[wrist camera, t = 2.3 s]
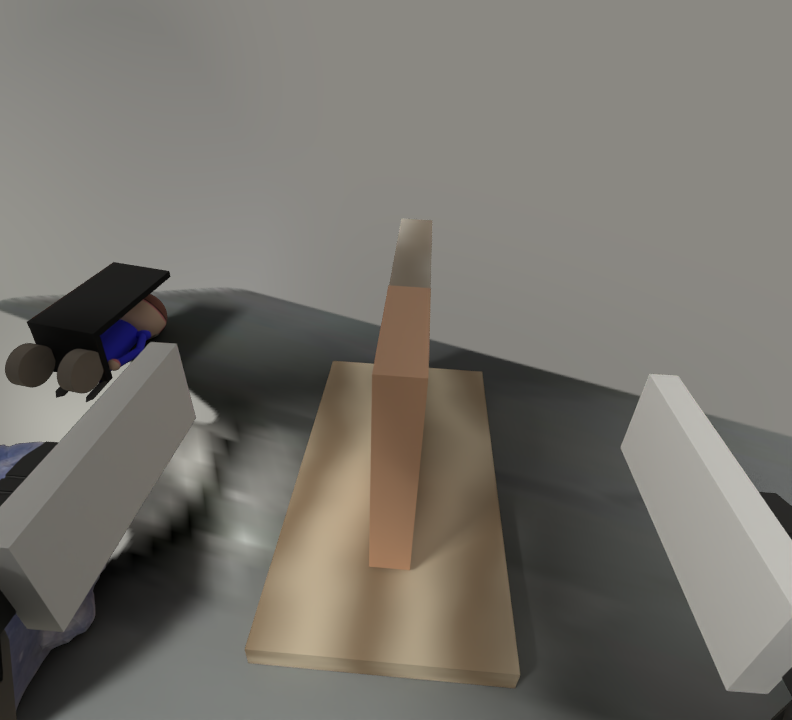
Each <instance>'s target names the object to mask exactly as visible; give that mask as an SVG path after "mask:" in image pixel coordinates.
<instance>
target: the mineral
mask: <svg viewBox="0 0 792 720" xmlns="http://www.w3.org/2000/svg"><path fill="white" fill-rule="evenodd" d="M43 443H44V442H32V443H19V444H15V445H12V446H10V447H9V446H5V445H0V480H1V479H2V478H5V474H6V473H7V472H8V471H9V470H10V469H11V468H12V467H13V466H14V465H15V464H16V463H17V462H18V461H19V460H20V459H21V458H22V457H23V456H25V455H26V454H28V453H29V452H31V451H32V450H34V449H35V448H37V447H39V446H40V445H42V444H43ZM110 557H111V556H110ZM109 559H110V558H109ZM107 562H108V561H107ZM105 568H106V565H105V566H104V568H103V569H102V571H103V570H104V569H105ZM102 571H101V572H102ZM99 578H100V574H99V576H98V577H97V579H96V581H95V582H94V584H93V586H92V587H91V589H90V590H89V592H88V594H87V595H86V597H85V599H84V600H83V602H82V603H81V605H80V607H79V608H78V610H77V611H76V613H75V615H74V616H73V618H72V620H71V621H70V623H69V624H68V626H67V628H66V629H65V631H64V632H57V631H46V630H35V629H27V628H26V626H25V625H24V624H23V622H22V621H21V620H20V618H19V617H18V616H17V614H15V615H14V616H13V618H12V619H11V621H10V622H9V623H8V625H7V626H6V627H5V629H4V630H5V631H6V633H7V636H8V638H9V643H10V653H11V664H12V675H13V686H14V697H15V707H16V710H17V706H18V704H19V702H20V700H21V697H22V695H23V693H24V691H25V690H26V688H27V686H28V684H29V683H30V681H31V680H32V678H33V677H34V675H35V674H36V672H37V670H38V669H39V667H40V665H41V663H42V662H43V660H44V659H45V658H46V656H47V655H48V653H49V652H50V650H51V649H53V648H55V647H57V646H60V645H62V644H65V643H68V642H70V641H71V640H72V639H73V638H74V637H75V636H76V635H78V634H81V633H83V632H85V631H86V630H87V629H88V628H89V627H90V625H91V623H92V622H93V620H94V618H95V600H94V593H93V589H94V586H95V584H96V583H97V581H98V579H99Z"/></svg>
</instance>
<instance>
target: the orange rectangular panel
mask: <svg viewBox="0 0 792 720" xmlns="http://www.w3.org/2000/svg"><path fill="white" fill-rule="evenodd" d="M430 297H431V288H421V287H407V286H392V285H389V286H388V291H387V296H386V302H385V307H384V313H383V318H382V323H381V329H380V334H379V340H378V345H377V350H376V356H375V361H374V367H373V372H372V409H371V471H370V533H369V567H379V568H390V569H402V570H410V563H411V553H412V542H413V532H414V522H415V511H416V501H417V491H418V481H419V470H420V460H421V450H422V439H423V429H424V419H425V408H426V398H427V388H428V375H429V336H430V333H429V332H430Z"/></svg>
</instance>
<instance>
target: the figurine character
mask: <svg viewBox="0 0 792 720" xmlns="http://www.w3.org/2000/svg"><path fill="white" fill-rule="evenodd" d="M169 277H170V273H169V271H165V270H158V269H152V268H146V267H140V266H134V265H127V264H121V263H115V262H113V263H112V264H110V265H109V266H108V267H106V268H105V269H103V270H102V271H100V272H99V273H97V274H96V275H94V276H93V277H91V278H90V279H89V280H87V281H86V282H84V283H83V284H81V285H80V286H78V287H77V288H76V289H74V290H73V291H71V292H70V293H68V294H67V295H65V296H64V297H62V298H61V299H60V300H58V301H57V302H55V303H54V304H52V305H51V306H49V307H48V308H46V309H45V310H44V311H42V312H41V313H39V314H38V315H36V316H35V317H33V318H32V319H31V320H29V321H27V324H28V326H29V328H30V330H31V333H32V335H33V338H34V340H35V343H36V344H32V343H27V344H22V345H20V346H18V347H17V348H16V349H14V350H13V352H12V353H11V354H10V355H9V357H8V359H7V362H6V365H5V373H6V376H7V378H8V380H9V381H10V382H11V383H13V384H16V385H21V386H26V387H37V386H40V385H41V384H43V383H45V382H46V381H47V380H48V379H49V377H50V376H51V374H52V373H53V372H57V380H58V383H59V385H60V387H59V388H58V389H57V390H56V397H60V396H64V395H65V394H66V393H67V392H68V391H72V392H77V393H87V392H89V391H91V390H92V389H93V390H92V391H91V392H90V394H89V395H88V396H87V397H86V402H88V401H90V400H93V399H94V398H95V397H96V395H98V393H99V392H100V391H101V390H102V389H103V388H104V387H105V385H106V384H107V383H108V382H109V381H110V380H111V379H112V374H111V371H112V370H113V371H115V370H118V369H119V368H120V367H121V366H123V365H124V364H126V363H128V362H129V361H131V360H133V359H134V358H136V357H137V356H138V355H139V354H140V353H141V352H142V351H143V350H144V347H145V343H146V340H149V339H152V338H154V337H156V336H157V335H159V334H160V333H161V332H162V331H163V329H164V328H165V326H166V323H167V312H166V309H165V307H164V305H163V303H162V302H161V301H160V300H159V299H158V298H156V297H155V296H153V295H151V294H150V293H151V292H153V291H154V290H155V289H156V288H157V287H159V286H160V285H161V284H162V283H163V282H165V280H167V279H168V278H169ZM136 343H137V345H136V348H135V349H133V350H132V351H130V350H131V349H132V347H133V346H134V345H135V344H136ZM129 351H130V352H129ZM98 383H99V384H98ZM97 384H98V385H97ZM96 385H97V386H96Z"/></svg>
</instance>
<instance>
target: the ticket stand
mask: <svg viewBox="0 0 792 720" xmlns="http://www.w3.org/2000/svg"><path fill="white" fill-rule="evenodd" d="M431 245H432V221H431V220H416V219H401V224H400V229H399V235H398V241H397V246H396V251H395V256H394V262H393V267H392V273H391V279H390V284H389V285H392V286H407V287H421V288H430V284H431V283H430V282H431V247H432V246H431ZM373 367H374V364H369V363H356V362H342V361H333V363H332V366H331V369H330V373H329V376H328V379H327V383H326V386H325V389H324V392H323V396H322V399H321V402H320V405H319V409H318V412H317V415H316V418H315V422H314V425H313V428H312V431H311V435H310V438H309V441H308V444H307V448H306V451H305V454H304V458H303V461H302V464H301V467H300V471H299V474H298V477H297V480H296V484H295V487H294V490H293V493H292V497H291V500H290V503H289V506H288V510H287V513H286V516H285V519H284V523H283V526H282V529H281V533H280V536H279V539H278V542H277V546H276V549H275V552H274V555H273V559H272V562H271V565H270V568H269V572H268V575H267V578H266V581H265V585H264V588H263V591H262V594H261V598H260V601H259V604H258V608H257V611H256V614H255V617H254V621H253V624H252V627H251V630H250V634H249V637H248V640H247V643H246V647H245V652H246V656H247V659H248V663H253V664H263V665H274V666H285V667H295V668H306V669H316V670H327V671H337V672H348V673H359V674H369V675H380V676H390V677H401V678H411V679H422V680H432V681H443V682H454V683H464V684H475V685H485V686H496V687H506V688H515V687H516V685H517V682H518V680H519V677H520V668H519V660H518V653H517V645H516V637H515V629H514V621H513V613H512V605H511V597H510V589H509V581H508V573H507V566H506V558H505V550H504V542H503V534H502V526H501V518H500V510H499V502H498V494H497V486H496V479H495V471H494V463H493V455H492V447H491V439H490V431H489V423H488V415H487V407H486V399H485V392H484V384H483V376H482V372H479V371H465V370H451V369H438V368H429V375H428V388H427V398H426V408H425V419H424V429H423V439H422V450H421V460H420V470H419V481H418V491H417V501H416V511H415V522H414V532H413V542H412V553H411V563H410V570H402V569H390V568H379V567H369V533H370V471H371V409H372V372H373Z"/></svg>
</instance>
